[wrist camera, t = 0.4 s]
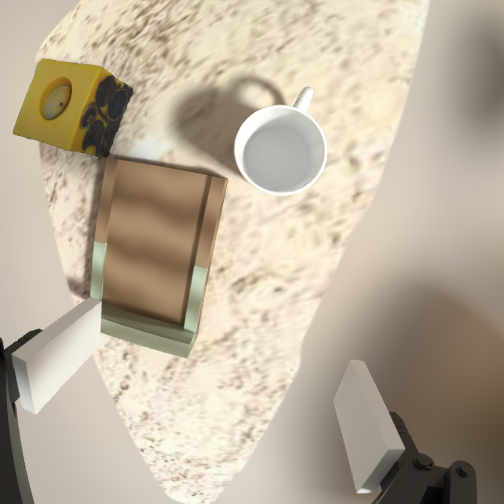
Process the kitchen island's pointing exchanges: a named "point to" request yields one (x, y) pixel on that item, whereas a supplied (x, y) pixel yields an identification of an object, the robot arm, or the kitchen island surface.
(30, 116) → the candle
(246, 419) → the kitchen island surface
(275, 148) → the cup
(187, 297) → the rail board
